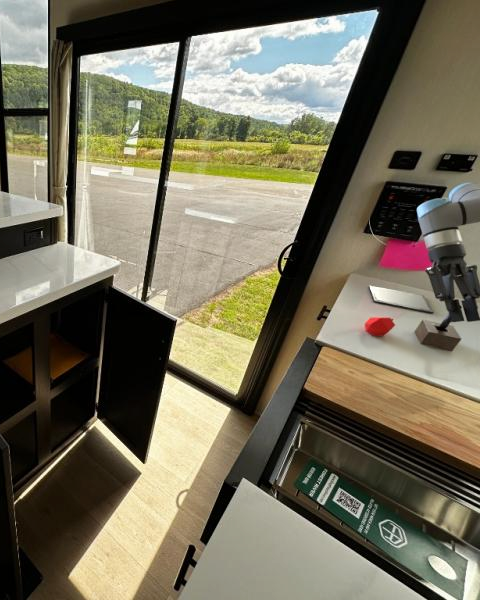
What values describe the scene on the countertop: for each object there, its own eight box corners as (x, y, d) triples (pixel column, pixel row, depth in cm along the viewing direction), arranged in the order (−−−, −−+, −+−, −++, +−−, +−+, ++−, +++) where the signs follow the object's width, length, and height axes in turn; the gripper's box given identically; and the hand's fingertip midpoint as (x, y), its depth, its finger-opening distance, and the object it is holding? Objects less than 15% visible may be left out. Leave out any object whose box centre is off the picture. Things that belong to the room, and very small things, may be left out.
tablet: (422, 296, 124) (424, 295, 124) (432, 313, 115) (434, 312, 114) (368, 286, 132) (369, 285, 131) (373, 302, 122) (374, 300, 122)
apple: (376, 326, 102) (402, 317, 101) (358, 317, 108) (383, 308, 107) (377, 343, 104) (403, 334, 103) (360, 333, 110) (384, 325, 109)
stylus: (434, 340, 103) (461, 304, 96) (436, 343, 102) (464, 306, 95) (428, 338, 104) (454, 303, 97) (429, 341, 103) (456, 305, 96)
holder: (444, 337, 104) (453, 325, 101) (451, 351, 99) (461, 339, 96) (414, 331, 107) (422, 319, 104) (420, 344, 102) (429, 331, 99)
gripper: (458, 250, 102) (479, 322, 97) (405, 252, 102) (423, 323, 98) (487, 241, 95) (511, 318, 90) (429, 243, 95) (450, 320, 90)
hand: (465, 321), depth 94 cm, fingers open, 4 cm apart
